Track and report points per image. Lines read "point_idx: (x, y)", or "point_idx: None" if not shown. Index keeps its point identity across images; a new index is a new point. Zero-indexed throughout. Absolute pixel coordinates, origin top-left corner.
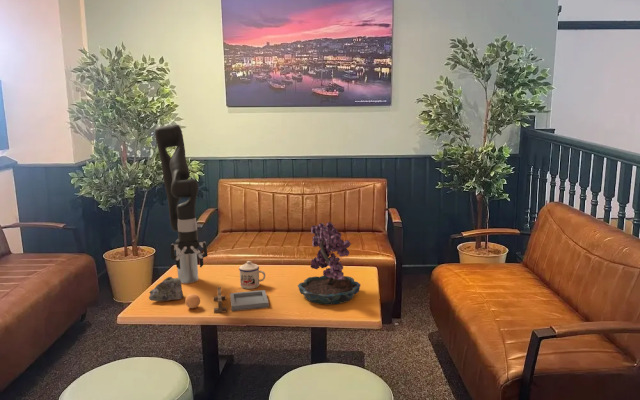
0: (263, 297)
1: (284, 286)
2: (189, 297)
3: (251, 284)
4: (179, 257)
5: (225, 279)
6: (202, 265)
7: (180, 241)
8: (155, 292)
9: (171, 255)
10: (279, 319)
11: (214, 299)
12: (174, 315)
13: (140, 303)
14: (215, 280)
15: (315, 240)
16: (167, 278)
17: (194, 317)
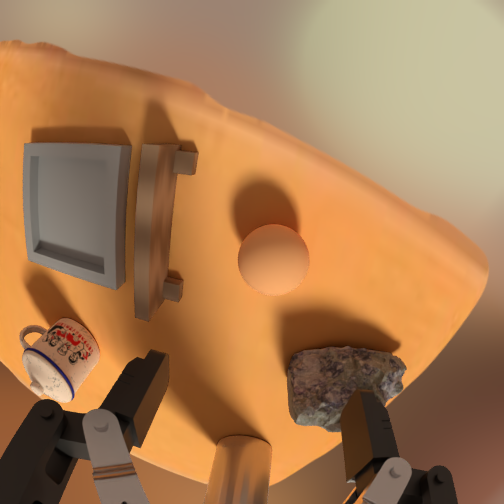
0: (29, 194)
1: (10, 286)
2: (291, 254)
3: (62, 325)
4: (377, 487)
5: None
6: (139, 361)
7: None
8: (391, 379)
9: (453, 497)
10: (41, 46)
11: (178, 282)
12: (363, 202)
13: (420, 361)
14: (171, 420)
15: None
16: None
17: (289, 137)
